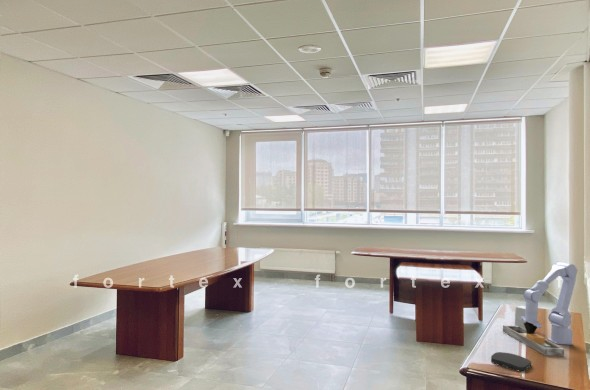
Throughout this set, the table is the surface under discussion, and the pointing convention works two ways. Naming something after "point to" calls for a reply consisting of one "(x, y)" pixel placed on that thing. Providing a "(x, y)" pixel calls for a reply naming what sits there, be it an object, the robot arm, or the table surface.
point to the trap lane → (544, 348)
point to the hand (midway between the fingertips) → (530, 337)
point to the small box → (518, 313)
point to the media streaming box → (511, 361)
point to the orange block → (536, 338)
